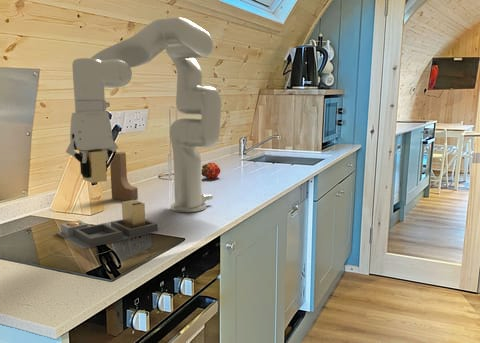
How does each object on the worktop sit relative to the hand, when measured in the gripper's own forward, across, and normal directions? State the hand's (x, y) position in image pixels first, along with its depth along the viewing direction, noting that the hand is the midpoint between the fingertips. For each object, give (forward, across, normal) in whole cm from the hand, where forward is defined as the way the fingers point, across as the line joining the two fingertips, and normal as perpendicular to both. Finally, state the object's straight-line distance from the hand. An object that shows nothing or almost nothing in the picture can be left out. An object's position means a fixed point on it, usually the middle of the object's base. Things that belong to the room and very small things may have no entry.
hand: (94, 175), depth 122 cm
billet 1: (+1, 0, 0) cm, 1 cm away
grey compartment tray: (+19, -5, -3) cm, 20 cm away
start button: (+17, +3, -9) cm, 20 cm away
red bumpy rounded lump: (+19, -80, -52) cm, 97 cm away
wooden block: (+19, -30, -42) cm, 55 cm away
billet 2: (+17, -11, 0) cm, 21 cm away
